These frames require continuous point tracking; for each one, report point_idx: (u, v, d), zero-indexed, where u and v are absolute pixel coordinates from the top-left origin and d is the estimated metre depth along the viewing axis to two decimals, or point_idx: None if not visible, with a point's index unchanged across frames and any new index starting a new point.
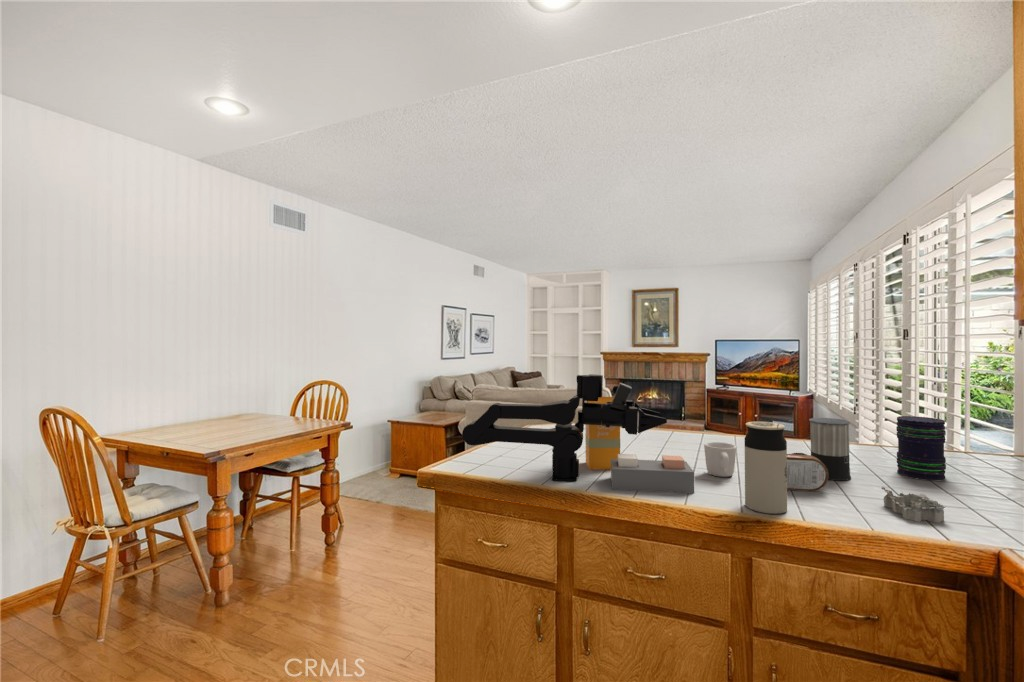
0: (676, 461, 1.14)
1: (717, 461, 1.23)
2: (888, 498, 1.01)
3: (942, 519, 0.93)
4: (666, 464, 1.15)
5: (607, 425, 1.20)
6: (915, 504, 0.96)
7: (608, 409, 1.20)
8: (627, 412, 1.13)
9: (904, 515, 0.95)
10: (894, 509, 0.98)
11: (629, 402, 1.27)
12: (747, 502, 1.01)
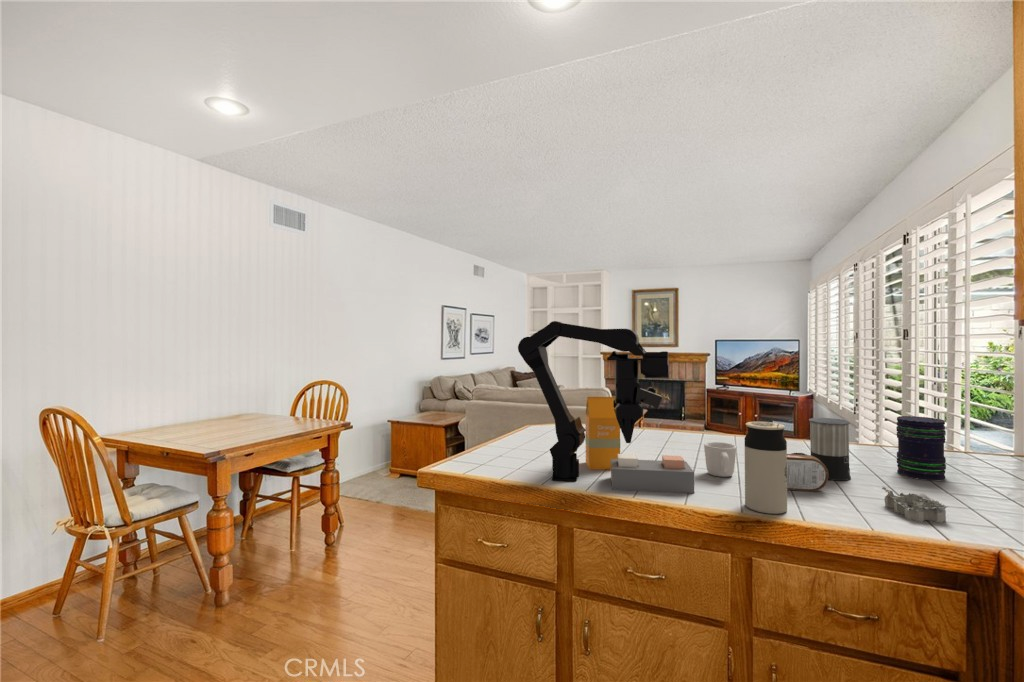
0: (676, 461, 1.14)
1: (717, 461, 1.23)
2: (889, 498, 1.01)
3: (944, 519, 0.93)
4: (666, 464, 1.15)
5: (617, 385, 1.17)
6: (916, 504, 0.96)
7: (634, 386, 1.16)
8: (638, 406, 1.09)
9: (906, 515, 0.95)
10: (896, 509, 0.98)
11: None
12: (747, 502, 1.01)
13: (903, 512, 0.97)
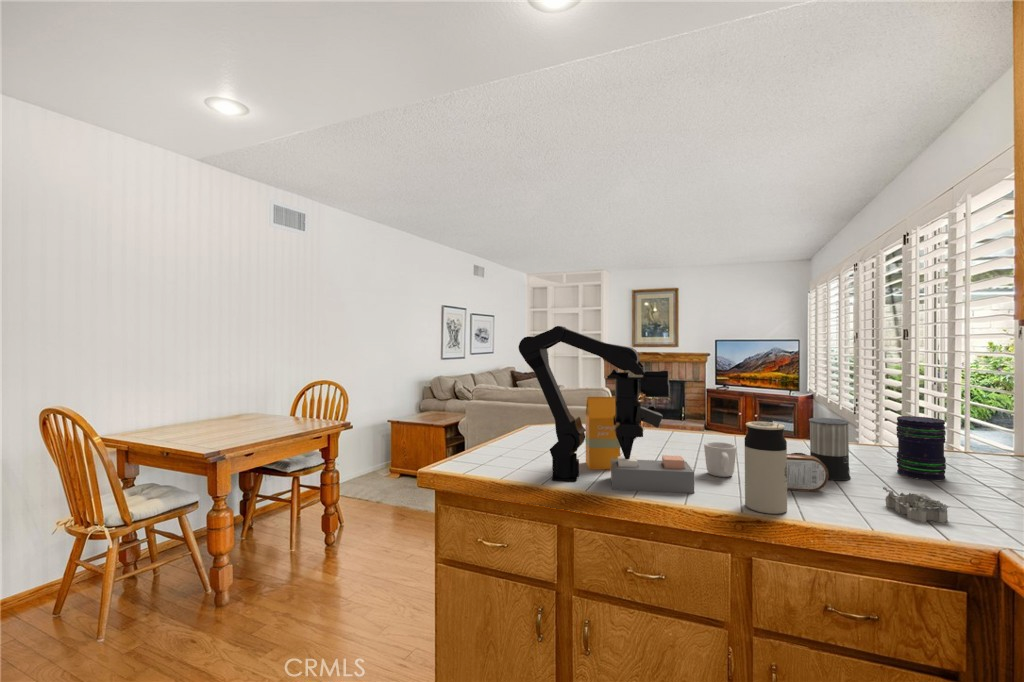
0: (676, 461, 1.14)
1: (717, 461, 1.23)
2: (890, 498, 1.01)
3: (946, 519, 0.93)
4: (666, 464, 1.15)
5: (617, 403, 1.17)
6: (918, 504, 0.96)
7: (634, 404, 1.16)
8: (638, 426, 1.09)
9: (909, 515, 0.95)
10: (897, 509, 0.98)
11: None
12: (747, 502, 1.01)
13: (905, 512, 0.97)
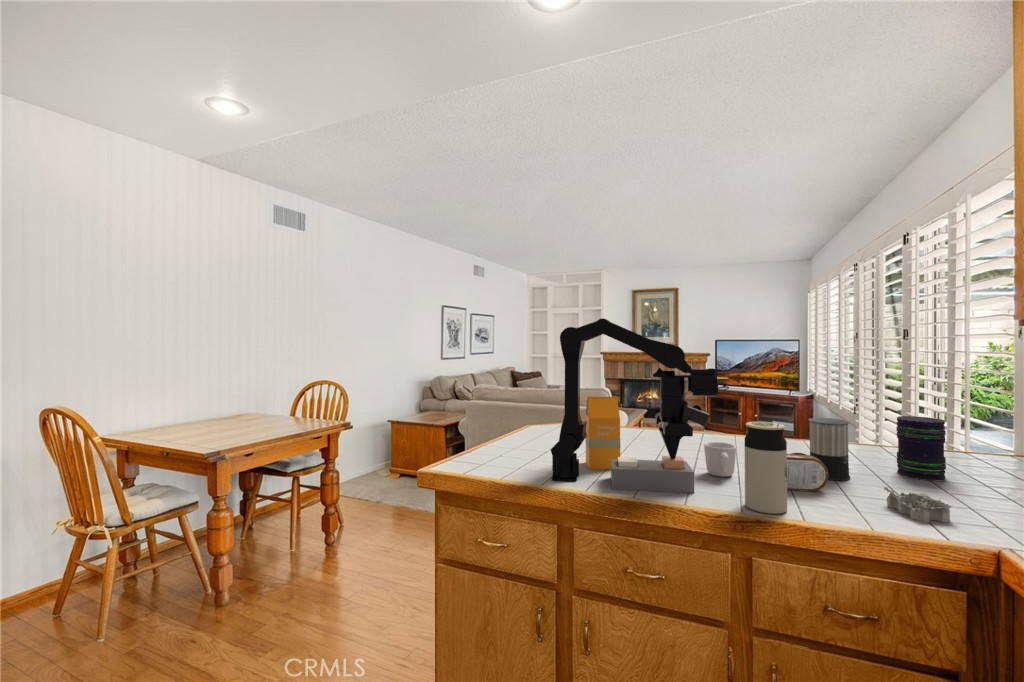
0: (676, 461, 1.14)
1: (717, 461, 1.23)
2: (892, 498, 1.01)
3: (948, 518, 0.93)
4: (666, 464, 1.15)
5: (663, 402, 1.15)
6: (921, 504, 0.96)
7: (680, 403, 1.14)
8: (688, 425, 1.07)
9: (912, 516, 0.94)
10: (900, 510, 0.98)
11: None
12: (747, 502, 1.01)
13: (907, 512, 0.97)
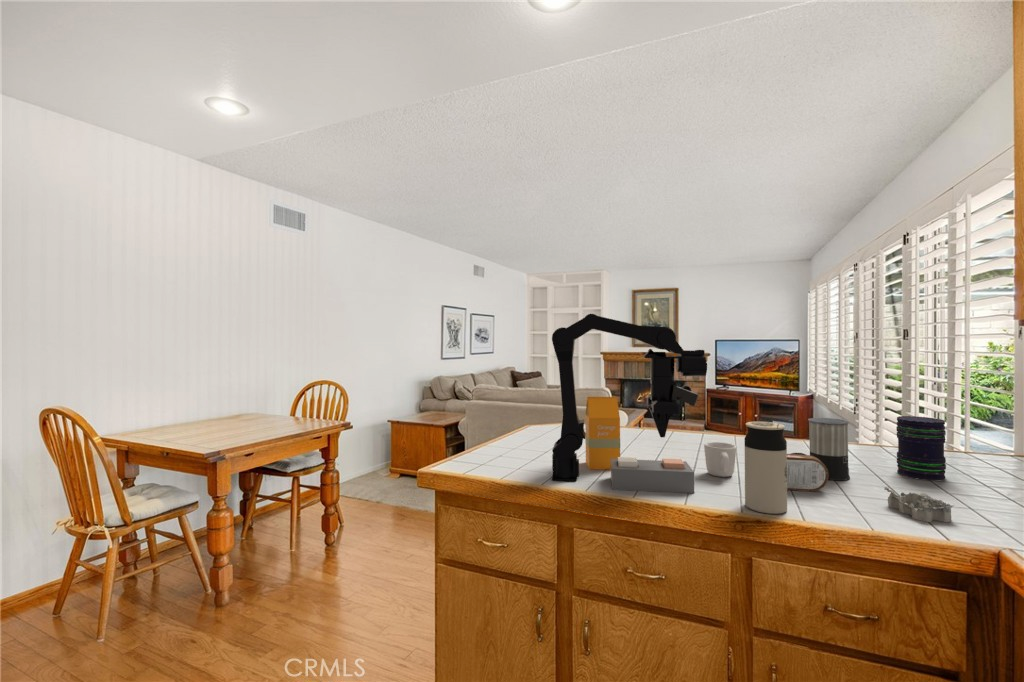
0: (676, 464, 1.14)
1: (717, 461, 1.23)
2: (893, 498, 1.01)
3: (949, 518, 0.94)
4: (666, 467, 1.15)
5: (653, 382, 1.18)
6: (922, 504, 0.96)
7: (670, 383, 1.17)
8: (676, 404, 1.11)
9: (914, 516, 0.94)
10: (901, 510, 0.98)
11: None
12: (747, 502, 1.01)
13: (909, 512, 0.97)
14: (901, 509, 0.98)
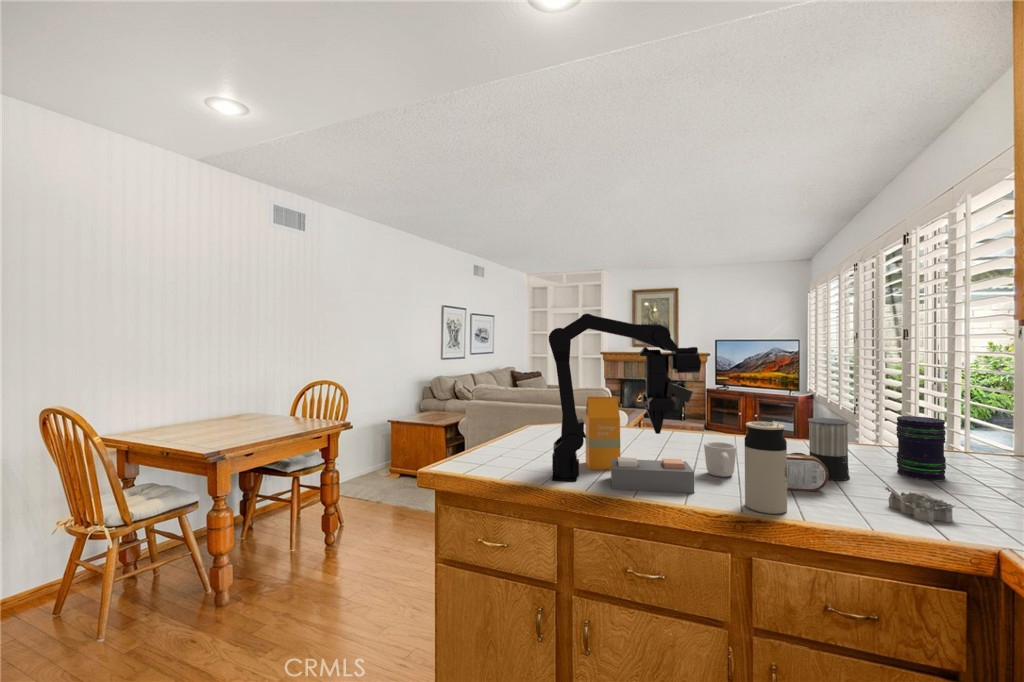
0: (676, 464, 1.14)
1: (717, 461, 1.23)
2: (894, 499, 1.01)
3: (951, 518, 0.94)
4: (666, 467, 1.15)
5: (648, 379, 1.20)
6: (924, 504, 0.96)
7: (665, 380, 1.19)
8: (671, 400, 1.13)
9: (916, 516, 0.94)
10: (903, 510, 0.98)
11: None
12: (747, 502, 1.01)
13: (910, 512, 0.97)
14: (902, 509, 0.98)
